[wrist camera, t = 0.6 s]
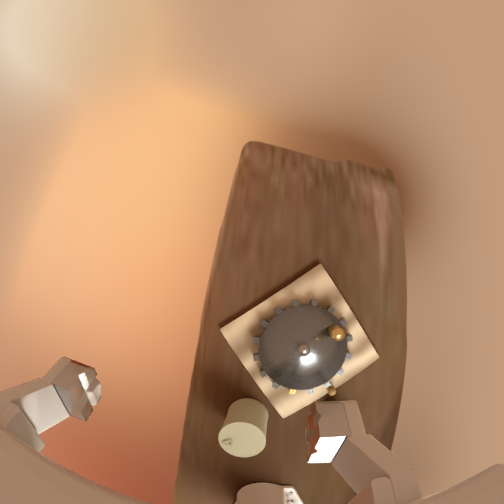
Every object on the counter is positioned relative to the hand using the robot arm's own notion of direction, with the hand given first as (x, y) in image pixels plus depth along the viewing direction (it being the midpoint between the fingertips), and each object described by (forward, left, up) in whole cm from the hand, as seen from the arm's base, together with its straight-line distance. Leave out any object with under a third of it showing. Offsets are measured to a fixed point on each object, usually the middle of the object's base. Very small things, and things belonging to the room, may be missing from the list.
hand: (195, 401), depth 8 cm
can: (-20, +17, -49) cm, 55 cm away
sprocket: (-12, -2, -47) cm, 49 cm away
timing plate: (-12, -2, -48) cm, 50 cm away
